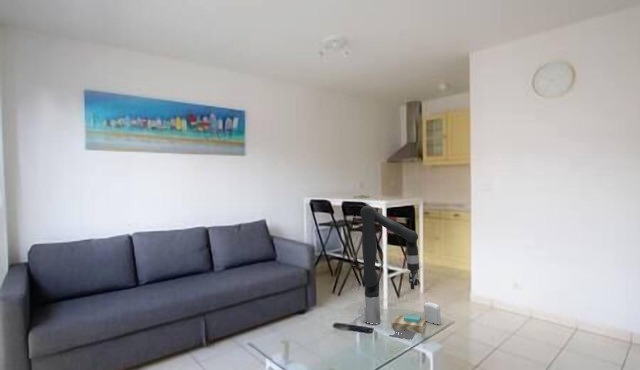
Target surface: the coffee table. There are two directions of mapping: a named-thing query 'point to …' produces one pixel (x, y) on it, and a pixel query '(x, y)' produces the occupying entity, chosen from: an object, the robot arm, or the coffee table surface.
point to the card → (412, 318)
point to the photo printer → (432, 313)
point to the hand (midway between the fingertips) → (414, 287)
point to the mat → (403, 334)
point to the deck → (408, 324)
